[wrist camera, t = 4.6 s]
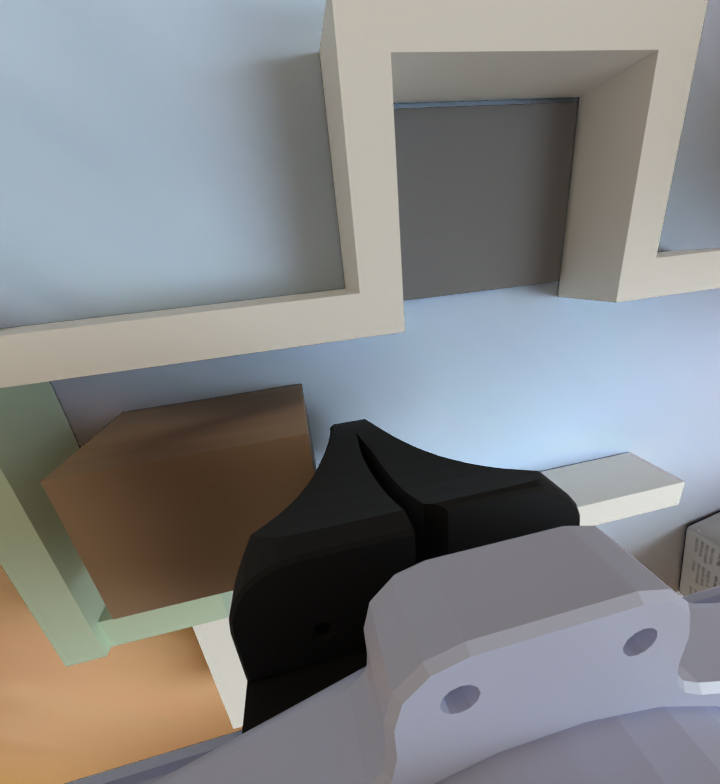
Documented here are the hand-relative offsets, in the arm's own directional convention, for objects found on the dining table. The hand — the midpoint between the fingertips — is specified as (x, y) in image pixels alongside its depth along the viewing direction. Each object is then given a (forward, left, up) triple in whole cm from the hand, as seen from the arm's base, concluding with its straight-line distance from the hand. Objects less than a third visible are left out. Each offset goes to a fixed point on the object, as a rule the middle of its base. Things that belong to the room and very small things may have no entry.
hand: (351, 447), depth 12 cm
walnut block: (+4, 0, -1) cm, 5 cm away
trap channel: (-2, 0, -1) cm, 2 cm away
